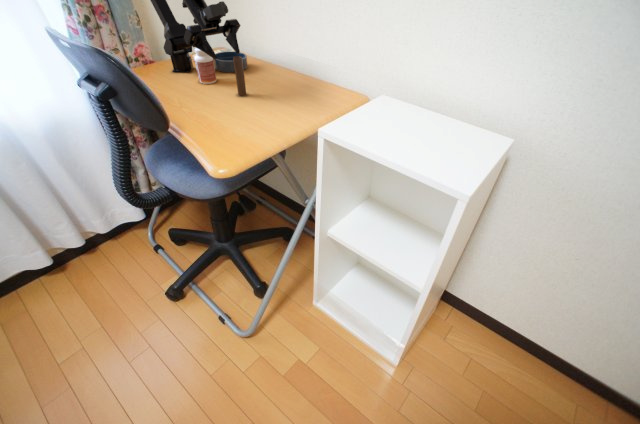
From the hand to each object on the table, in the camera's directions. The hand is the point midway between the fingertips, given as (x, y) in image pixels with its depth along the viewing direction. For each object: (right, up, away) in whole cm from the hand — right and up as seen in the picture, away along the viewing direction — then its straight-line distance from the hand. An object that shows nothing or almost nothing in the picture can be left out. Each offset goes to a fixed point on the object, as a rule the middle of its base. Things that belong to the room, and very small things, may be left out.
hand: (227, 55), depth 100 cm
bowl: (-6, +8, +26) cm, 28 cm away
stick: (+3, -11, +5) cm, 12 cm away
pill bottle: (-11, -3, +13) cm, 18 cm away
